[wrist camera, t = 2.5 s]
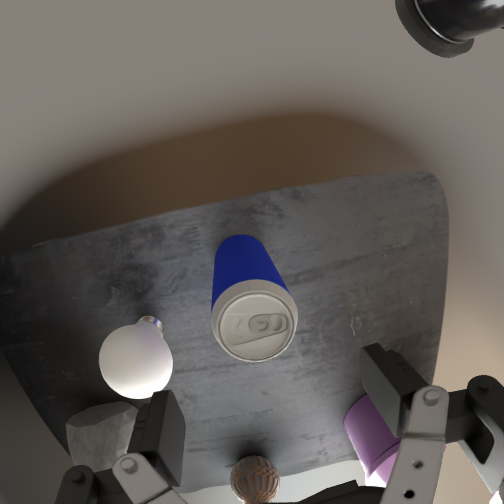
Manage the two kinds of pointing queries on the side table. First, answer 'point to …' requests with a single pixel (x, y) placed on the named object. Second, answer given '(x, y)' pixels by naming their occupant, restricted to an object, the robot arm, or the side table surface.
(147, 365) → the light bulb
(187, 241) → the side table surface
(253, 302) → the beverage can
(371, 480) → the jar
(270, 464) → the vase
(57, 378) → the side table surface
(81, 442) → the potted plant
